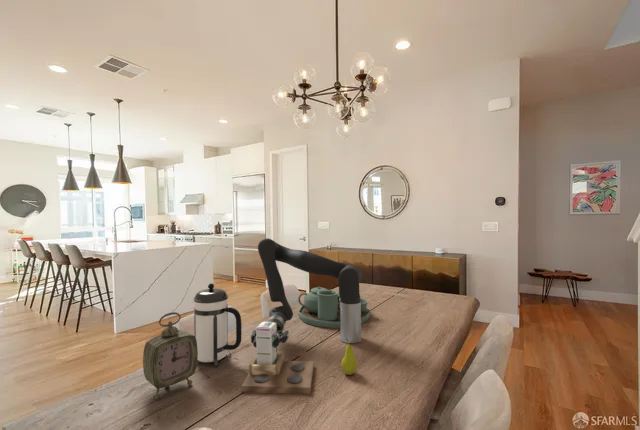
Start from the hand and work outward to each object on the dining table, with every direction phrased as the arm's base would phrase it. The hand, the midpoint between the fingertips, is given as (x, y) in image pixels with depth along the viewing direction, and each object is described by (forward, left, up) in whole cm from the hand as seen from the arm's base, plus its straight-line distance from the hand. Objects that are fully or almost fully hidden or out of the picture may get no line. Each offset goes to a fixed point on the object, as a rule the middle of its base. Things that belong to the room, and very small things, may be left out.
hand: (265, 344), depth 112 cm
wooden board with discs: (-6, +1, -11) cm, 12 cm away
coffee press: (+22, -12, -11) cm, 28 cm away
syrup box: (0, -2, -8) cm, 9 cm away
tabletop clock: (+29, +9, -11) cm, 33 cm away
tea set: (-24, -68, -12) cm, 73 cm away
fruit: (-30, -3, -11) cm, 32 cm away
